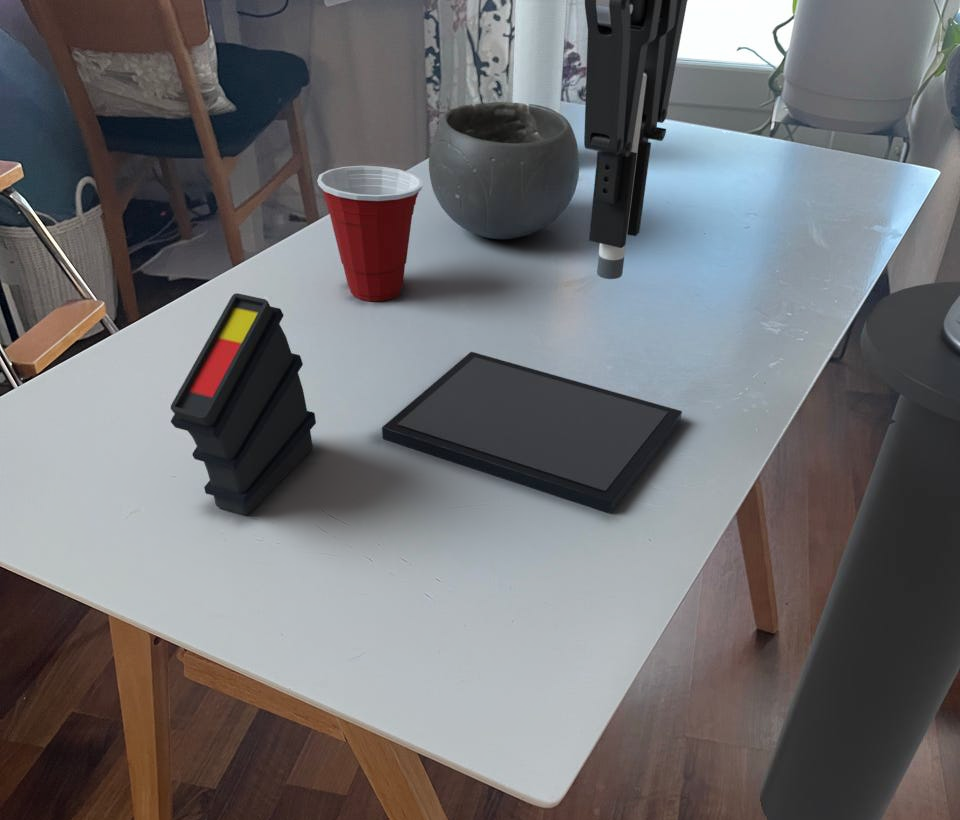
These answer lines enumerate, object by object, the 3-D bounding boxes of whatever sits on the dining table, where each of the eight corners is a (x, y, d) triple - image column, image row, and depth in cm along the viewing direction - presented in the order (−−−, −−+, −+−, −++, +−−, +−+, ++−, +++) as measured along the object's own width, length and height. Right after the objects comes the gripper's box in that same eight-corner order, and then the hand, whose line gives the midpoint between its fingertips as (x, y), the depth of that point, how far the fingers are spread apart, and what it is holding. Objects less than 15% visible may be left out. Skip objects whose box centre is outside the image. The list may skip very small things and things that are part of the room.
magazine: (334, 415, 85) (275, 297, 71) (271, 543, 81) (195, 444, 67) (297, 406, 86) (232, 288, 72) (233, 532, 82) (151, 432, 68)
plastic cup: (445, 284, 108) (443, 171, 100) (388, 320, 102) (381, 203, 93) (367, 261, 112) (360, 151, 104) (308, 295, 106) (294, 180, 97)
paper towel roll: (508, 153, 140) (514, -24, 125) (550, 152, 140) (560, -23, 125) (513, 170, 135) (519, -12, 120) (556, 170, 135) (567, -12, 120)
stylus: (626, 272, 76) (651, 73, 67) (616, 281, 75) (640, 80, 65) (603, 266, 77) (624, 68, 67) (592, 275, 76) (613, 75, 66)
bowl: (517, 193, 129) (521, 87, 120) (604, 238, 118) (615, 126, 109) (403, 221, 121) (398, 110, 112) (484, 272, 111) (486, 154, 102)
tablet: (680, 422, 88) (682, 409, 87) (610, 513, 78) (612, 500, 77) (470, 362, 96) (470, 350, 95) (382, 438, 86) (381, 426, 85)
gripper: (649, -174, 64) (609, 196, 80) (547, -156, 54) (525, 260, 71) (760, -166, 61) (695, 215, 77) (672, -145, 52) (619, 284, 68)
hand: (614, 236), depth 74 cm, fingers closed on stylus, 2 cm apart
